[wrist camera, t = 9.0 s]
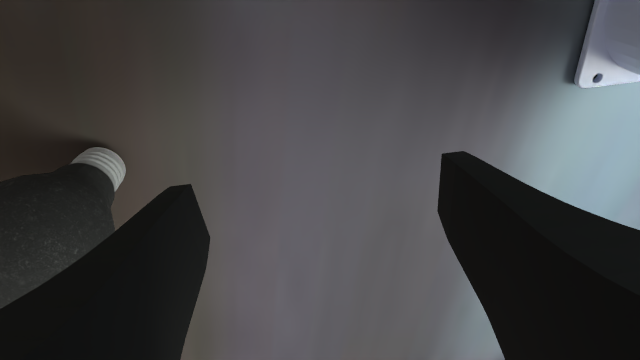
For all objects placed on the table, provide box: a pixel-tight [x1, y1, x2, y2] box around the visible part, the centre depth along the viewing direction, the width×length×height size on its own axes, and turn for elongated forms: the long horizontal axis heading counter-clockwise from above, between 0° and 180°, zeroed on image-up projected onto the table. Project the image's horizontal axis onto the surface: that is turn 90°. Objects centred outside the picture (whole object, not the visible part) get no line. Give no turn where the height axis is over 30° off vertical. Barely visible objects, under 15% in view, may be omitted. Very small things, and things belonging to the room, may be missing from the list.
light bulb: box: [0, 147, 126, 309], centre depth 17 cm, size 6×6×10 cm
